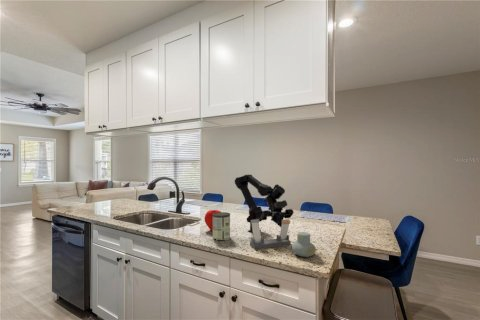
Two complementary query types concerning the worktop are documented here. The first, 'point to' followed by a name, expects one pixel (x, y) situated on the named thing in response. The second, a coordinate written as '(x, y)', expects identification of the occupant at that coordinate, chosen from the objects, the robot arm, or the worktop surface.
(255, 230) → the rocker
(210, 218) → the apple
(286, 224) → the block
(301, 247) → the air freshener
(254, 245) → the switch base
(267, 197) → the robot arm
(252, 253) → the worktop surface
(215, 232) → the coffee can
